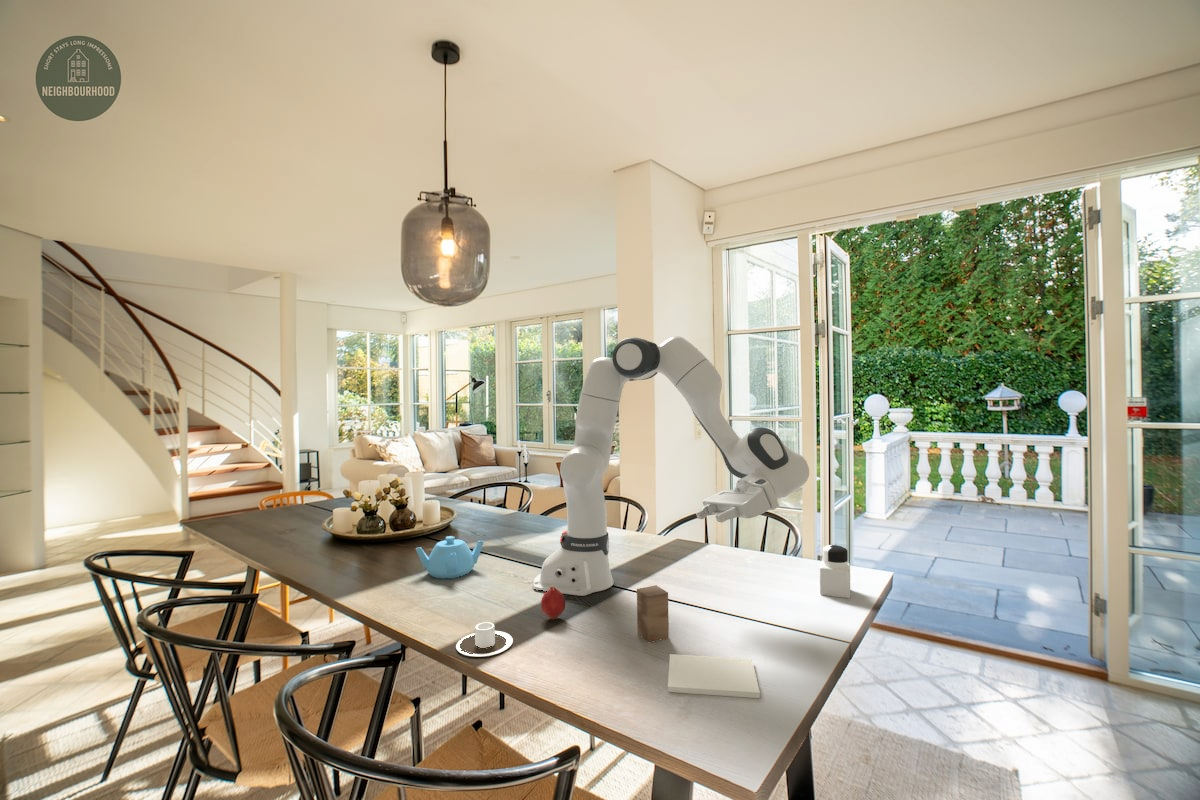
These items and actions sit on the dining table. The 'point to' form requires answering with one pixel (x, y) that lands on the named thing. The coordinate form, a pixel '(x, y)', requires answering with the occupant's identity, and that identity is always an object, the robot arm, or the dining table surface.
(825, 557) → the medicine bottle
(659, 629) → the walnut block
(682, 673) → the serving plate
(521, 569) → the dining table surface
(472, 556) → the teapot
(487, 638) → the candle holder
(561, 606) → the onion
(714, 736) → the dining table surface
